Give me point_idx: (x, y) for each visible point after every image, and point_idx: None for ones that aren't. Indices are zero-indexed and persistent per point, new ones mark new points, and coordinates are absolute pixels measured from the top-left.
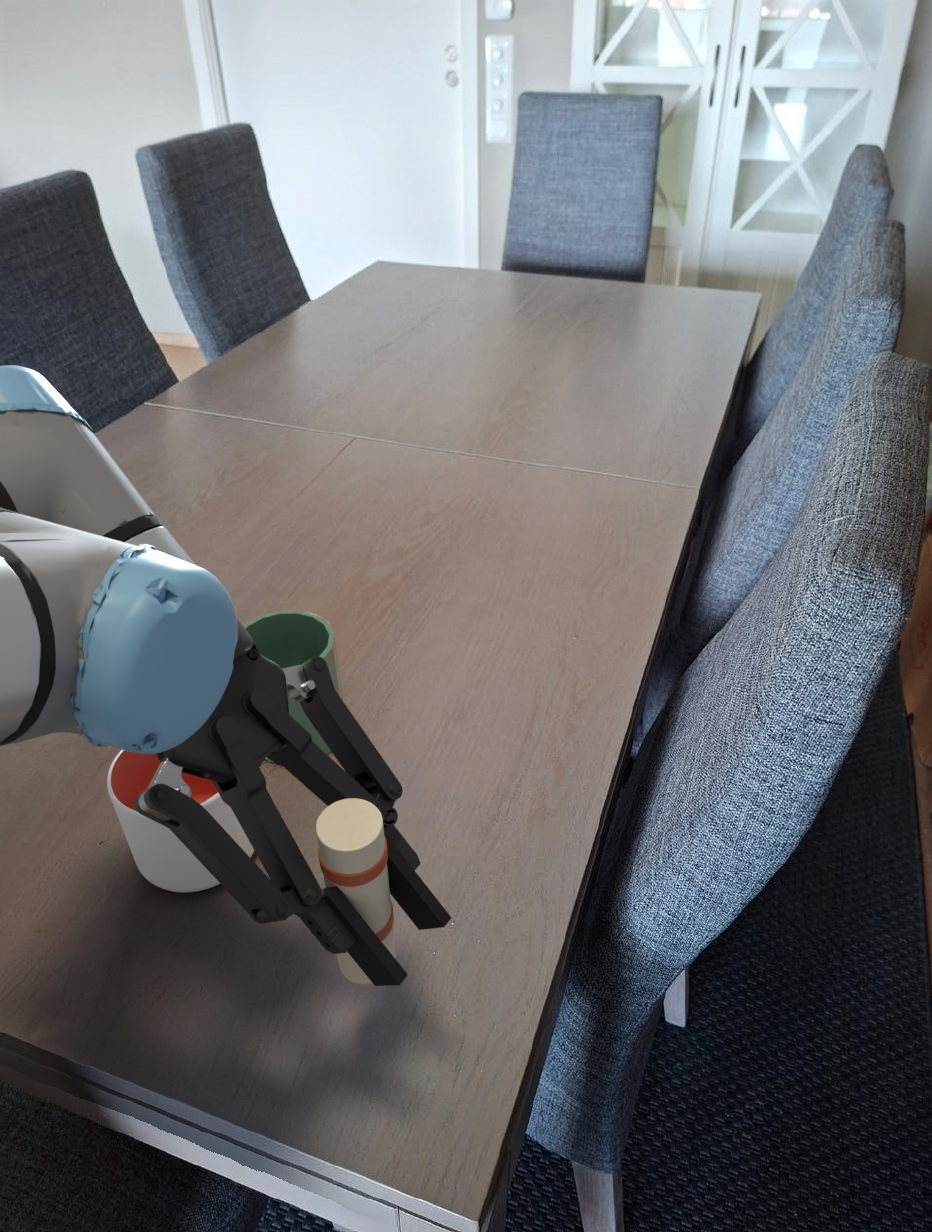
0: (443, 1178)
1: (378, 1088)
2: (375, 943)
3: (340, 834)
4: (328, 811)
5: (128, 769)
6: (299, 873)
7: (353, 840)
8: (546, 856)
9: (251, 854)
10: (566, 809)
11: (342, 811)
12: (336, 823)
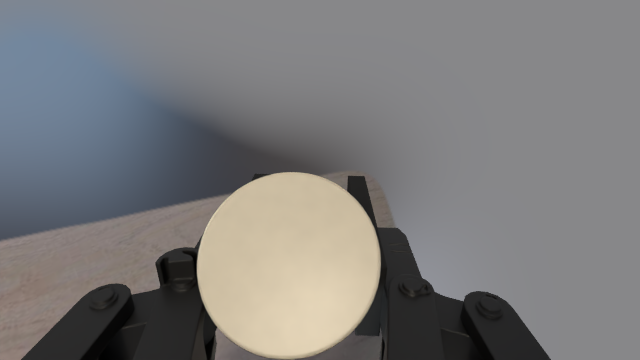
0: (371, 190)
1: None
2: (360, 203)
3: (332, 251)
4: (283, 340)
5: None
6: (416, 326)
7: (329, 210)
8: (84, 255)
9: None
10: (17, 265)
11: (262, 302)
12: (308, 286)
